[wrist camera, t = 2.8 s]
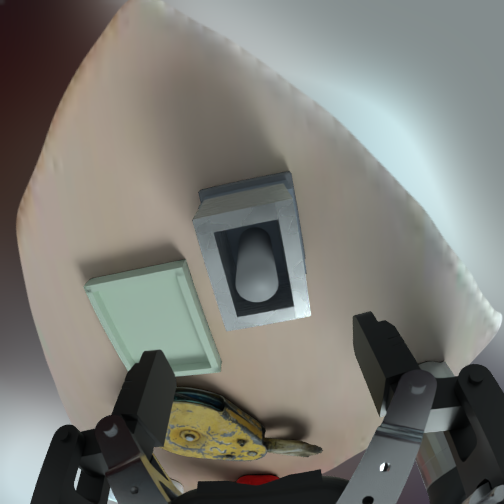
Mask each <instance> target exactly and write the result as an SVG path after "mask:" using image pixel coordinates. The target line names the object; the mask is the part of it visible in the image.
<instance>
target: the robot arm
mask: <svg viewBox="0 0 504 504" xmlns="http://www.w3.org/2000/svg"><path fill="white" fill-rule="evenodd" d="M353 346H354V352H355V356H356V359H357V361H358V363H359V366H360V368H361V371H362V373H363V376H364V378H365V381H366V383H367V386H368V388H369V391H370V393H371V396H372V399H373V401H374V404H375V406H376V409H377V412H378V414H379V417H382V416H385V417H384V419H383V422H382V424H381V426H379V427H378V428H377V430H376V432H375V434H374V436H373V438H372V440H371V442H370V444H369V446H368V448H367V450H366V452H365V454H364V456H363V458H362V460H361V461H360V463H359V465H358V467H357V469H356V471H355V473H354V474H353V476H352V478H351V480H350V481H349V480H346V479H342V478H338V477H332V476H322V474H321V469H320V470H314V471H309V472H304V473H298V474H291V475H288V476H285V477H282V478H279V479H276V480H273V481H271V482H268V483H264V484H261V485H250V484H243V483H236V482H230V481H198V486H197V489H194V490H191V491H188V492H186V493H184V494H182V493H181V492H180V491H179V490H178V489H177V488H176V486H175V485H174V484H173V482H172V481H171V479H170V478H169V477H168V475H167V474H166V472H165V471H164V469H163V467H162V466H161V464H160V463H159V461H158V460H157V458H156V456H155V455H154V454H153V448H154V447H164V443H165V438H166V433H167V428H168V423H169V419H170V414H171V409H172V404H173V400H174V395H175V391H176V377H175V374H174V372H173V370H172V368H171V366H170V364H169V362H168V361H167V359H166V357H165V355H164V353H163V351H162V350H160V349H159V350H149V351H144V352H143V353H142V356H141V358H140V361H139V363H135V364H134V365H133V366H132V368H131V369H130V370H129V371H128V373H127V376H126V378H125V382H124V383H123V386H122V390H121V391H120V393H119V396H118V399H117V401H116V404H115V407H114V409H113V412H112V415H109V416H106V417H104V418H102V419H101V420H100V421H99V422H98V423H97V425H96V427H95V429H91V430H87V431H82V432H80V431H79V430H78V429H77V428H76V427H75V426H73V425H64V426H62V427H60V428H59V429H58V430H57V431H56V432H55V434H54V436H53V438H52V441H51V443H50V446H49V449H48V451H47V454H46V457H45V460H44V463H43V466H42V468H41V471H40V474H39V477H38V480H37V483H36V487H35V490H34V493H33V496H32V500H31V503H30V504H107V501H108V496H109V491H110V487H111V489H112V492H113V494H114V496H115V498H116V500H117V502H118V504H396V502H397V500H398V498H399V496H400V494H401V492H402V489H403V487H404V485H405V483H406V480H407V478H408V476H409V473H410V471H411V468H412V466H413V464H414V461H415V460H416V463H417V465H418V468H419V471H420V473H421V476H422V479H423V481H424V484H425V487H426V489H427V493H428V496H429V500H430V504H504V393H503V391H502V390H501V388H500V387H499V385H498V383H497V382H496V380H495V378H494V377H493V375H492V374H491V372H490V371H489V370H488V369H487V368H486V367H484V366H482V365H478V364H471V365H468V366H466V367H464V368H463V369H462V370H461V371H460V373H459V375H458V376H454V374H453V373H452V371H451V370H450V368H449V367H448V365H447V364H446V362H445V361H444V362H441V363H437V362H425V363H422V364H419V365H418V363H417V362H416V360H415V358H414V357H413V355H412V353H411V352H410V350H409V348H408V347H407V345H406V344H405V343H404V340H403V339H402V337H400V334H399V332H398V331H397V329H396V328H395V326H393V325H392V324H390V323H389V322H387V321H386V320H384V321H380V322H378V321H377V320H376V318H375V316H374V315H373V313H372V312H371V311H370V312H366V313H362V314H358V315H354V316H353ZM78 468H80V469H81V474H80V477H79V481H78V485H77V489H76V490H75V488H74V481H75V477H76V474H77V470H78Z"/></svg>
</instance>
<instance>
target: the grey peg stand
mask: <svg viewBox="0 0 504 504" xmlns="http://www.w3.org/2000/svg"><path fill="white" fill-rule="evenodd" d="M282 183H283V184H284V185H285V187H286V189H287V190H288V192H289V193H290V195H291V197H292V198H293V202H294V208H295V214H296V220H297V225H298V231H299V238H300V244H301V250H302V256H303V263H304V269H305V274H307V273H306V266H305V260H304V259H306V258H305V252H304V245H303V239H302V233H301V226H300V220H299V214H298V209H297V203H296V197H295V191H294V186H293V180H292V175H291V172H290V171H287V172H282V173H276V174H271V175H266V176H261V177H256V178H252V179H247V180H242V181H237V182H233V183H228V184H224V185H219V186H215V187H211V188H207V189H202V190H200V191H199V192H198V193H199V197H200V201H201V205H202V203H203V202H204V200H207V199H211V198H215V197H220V196H224V195H229V194H233V193H238V192H243V191H247V190H252V189H257V188H262V187H267V186H272V185H277V184H282ZM201 205H200V206H201ZM200 206H199V208H200ZM199 208H198V209H199ZM226 232H227V236H228V240H229V244H230V247H231V251H232V255H233V259H234V263H235V267H236V271H237V272H236V289H237V291H238V293H239V294H240V296H241V297H243V298H244V299H246V300H248V301H251V302H262V301H265V300H268V299H269V298H271V297H272V296H273V295H274V294H275V293H276V291H277V288H278V277H277V274H279V273H284V272H286V269H285V263H284V258H283V253H282V247H281V242H280V237H279V231H278V226H277V221H276V220H272V221H267V222H262V223H257V224H252V225H247V226H242V227H237V228H233V229H228V230H226Z"/></svg>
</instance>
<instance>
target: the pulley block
mask: <svg viewBox="0 0 504 504" xmlns="http://www.w3.org/2000/svg"><path fill="white" fill-rule="evenodd" d="M265 431H266V430H265V428H264V427H263V426H262V425H261V424H260V423H259V422H258V421H257V420H255V419H254V418H252V417H251V416H249V415H248V414H246V413H245V412H243V411H242V410H240V409H239V408H238V407H236V406H235V405H234V404H232V403H231V402H230V401H228V400H227V399H225V398H224V397H223V396H221V395H218V394H215V393H211V392H208V391H204V390H199V389H194V388H186V387H176V391H175V395H174V400H173V404H172V409H171V414H170V419H169V423H168V428H167V433H166V438H165V443H164V447H160V448H162V449H164V450H167V451H169V452H172V453H175V454H179V455H183V456H187V457H195V458H204V459H216V460H231V461H251V460H257V459H260V458H262V457H264V456H265V455H266V453H267V452H270V453H276V454H283V455H291V456H301V457H309V456H310V455H316V454H318V453H322V451H323V450H322V448H321V447H318V446H316V445H310V444H308V443H306V442H303V441H296V440H282V439H272V438H265Z"/></svg>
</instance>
